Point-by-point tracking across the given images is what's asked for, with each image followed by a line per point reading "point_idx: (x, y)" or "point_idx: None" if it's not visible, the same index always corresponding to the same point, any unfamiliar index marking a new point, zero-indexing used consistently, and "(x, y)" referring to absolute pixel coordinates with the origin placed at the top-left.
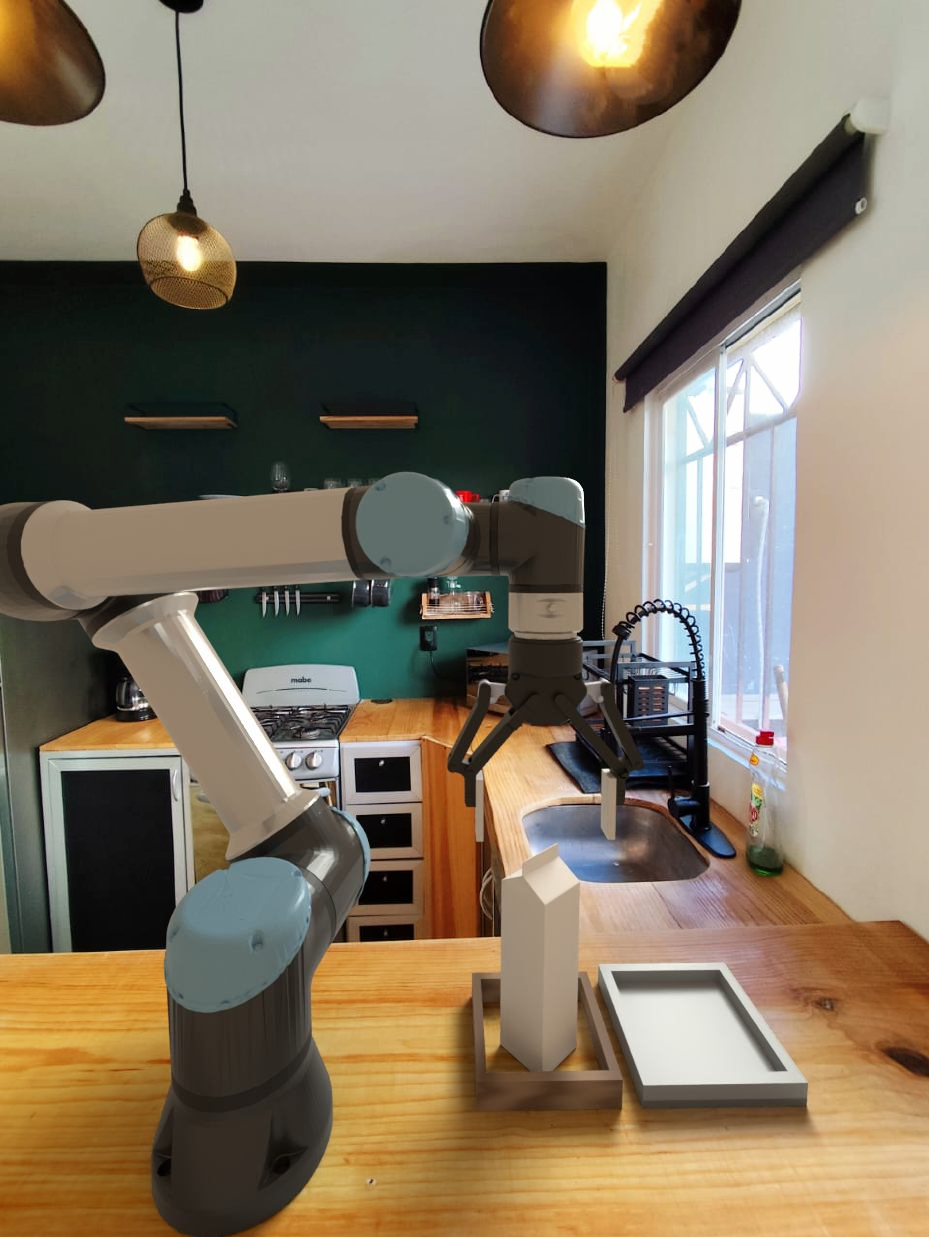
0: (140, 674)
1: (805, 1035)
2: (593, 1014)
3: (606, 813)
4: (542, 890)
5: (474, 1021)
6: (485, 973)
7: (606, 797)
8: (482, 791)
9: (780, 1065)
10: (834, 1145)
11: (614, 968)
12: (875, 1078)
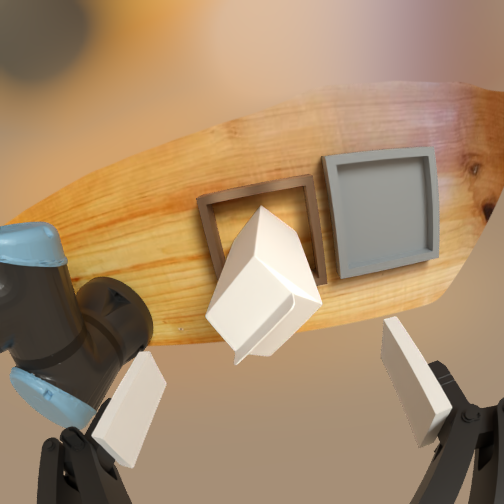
0: None
1: (454, 198)
2: (314, 229)
3: (395, 379)
4: (266, 348)
5: (210, 252)
6: (209, 196)
7: (407, 401)
8: (138, 449)
9: (431, 242)
10: (430, 272)
11: (340, 161)
12: (470, 227)
